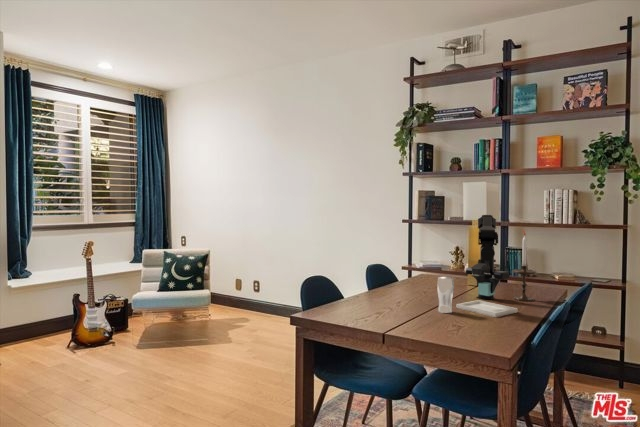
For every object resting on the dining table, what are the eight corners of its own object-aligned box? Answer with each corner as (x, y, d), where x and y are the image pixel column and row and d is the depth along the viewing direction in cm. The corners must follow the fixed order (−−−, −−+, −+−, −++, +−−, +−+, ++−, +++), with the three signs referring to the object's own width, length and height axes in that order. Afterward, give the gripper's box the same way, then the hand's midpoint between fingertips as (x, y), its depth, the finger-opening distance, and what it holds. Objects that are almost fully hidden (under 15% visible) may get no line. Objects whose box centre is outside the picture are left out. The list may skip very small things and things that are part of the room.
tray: (456, 308, 204) (456, 304, 204) (478, 303, 213) (478, 300, 213) (495, 317, 188) (495, 313, 188) (517, 312, 197) (517, 308, 197)
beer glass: (453, 310, 199) (454, 276, 199) (453, 314, 192) (453, 279, 192) (437, 309, 201) (438, 276, 201) (436, 312, 195) (436, 278, 194)
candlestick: (512, 300, 221) (513, 229, 220) (511, 296, 231) (512, 228, 230) (536, 302, 217) (537, 230, 216) (535, 298, 227) (536, 229, 226)
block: (478, 294, 201) (478, 282, 201) (485, 292, 204) (485, 281, 204) (488, 296, 197) (488, 284, 197) (494, 294, 200) (495, 283, 200)
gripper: (458, 256, 203) (457, 290, 203) (494, 260, 188) (494, 298, 188) (473, 254, 209) (473, 288, 210) (510, 259, 194) (509, 295, 194)
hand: (486, 292), depth 200 cm, fingers closed on block, 5 cm apart
